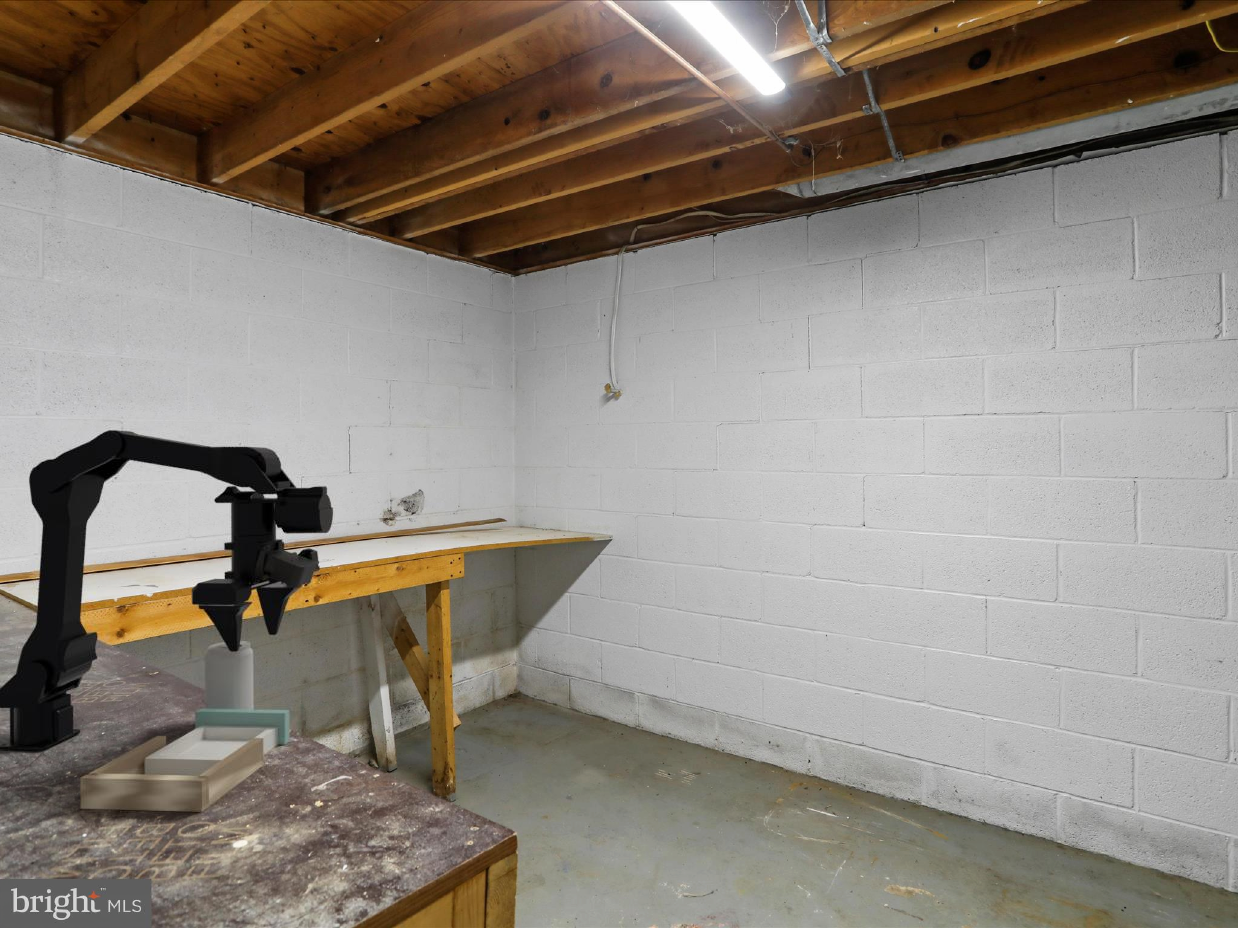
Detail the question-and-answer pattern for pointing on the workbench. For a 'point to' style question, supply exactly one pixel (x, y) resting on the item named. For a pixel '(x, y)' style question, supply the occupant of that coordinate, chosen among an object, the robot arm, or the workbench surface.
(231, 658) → the beverage can
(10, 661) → the workbench surface
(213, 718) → the tray
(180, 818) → the workbench surface
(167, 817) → the workbench surface
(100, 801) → the dock
